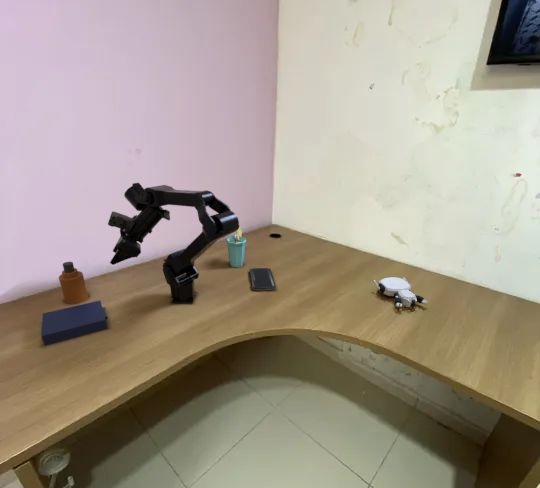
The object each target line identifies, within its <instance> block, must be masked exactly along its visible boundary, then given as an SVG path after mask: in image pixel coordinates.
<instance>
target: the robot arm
mask: <svg viewBox="0 0 540 488" xmlns="http://www.w3.org/2000/svg"><path fill="white" fill-rule="evenodd" d="M123 196H124V198H125V199H126V200H127V201H128V202H129V204H130V205H131V206H132V207H133V208H134V209H135V210H136V211H137V212H139V213H138V214H136V215H135V214H134V215H133V216H132V217H131V216H129V215H125V214H123V213H120V212H117V211H111V213H110V216H109V219H108V221H107V225H108V226H109V227H111V228H113V227H114V228H117V229H119V234H120V236H119V238H118V240H117V242H116V244H115V245H114V247H113V249H112V252H113V253H115V254H114V255H113V256H112V258H111V259H110V261H109V264H111V265H113V266H114V265H117V264H119V263H121V262H124V261H126V260H129V259H132V258H134V259H135V258H138V257H139V256H140V254H141V253H142V247H141V244H142V243H144V240H145V238H146V237H147V235H148V234H152V233H153V229H154V228H155V227H156V226H157V225H158V223H160V222H161V220H162V219H165V220H167V221H170V220H171V216H170V215H171V211H170V210H167V209H164V207H165V206H169V205H170V206H180V207H192V208H194V209H195V210H196V212H197V217H198V221H199V223H200V224H201V225H202V227H201V233H200V234H199V235H197V236H196V237H195V238H194V239H193V240H192V241H191V242H190V244H188V246H186V247H185V248H182V249H180V250H177V251H174V252H172V253H169V254H168V255H167V257H166V258H165V259H163V260H162V261H163V263H162V272H163V276H164V279H165V282H166V284H167V285H169V288H170V289H169V290H170V297H171V299H172V300H171V303H172V304H193V303H194V301H195V299H196V296H197V291H196V289H195V280H197V279H199V276H200V273H199V271H198V269H197V268H196V267H195V262H196V260H197V259H199V258H200V257H201V256H202V255H203V254H204V253H206V251H207V250H209V249H210V248H211V247H212V246H213V245H214V244H216V243H217V241H219V240H222V239H223V238H226V237H227V236H229V235H231V234H234V233H236V231H237V230H238V229H239V228H240V222H239V217H238V215H236V213H235V212H234V211H233V210H232V209H231V207H230V206H229V205H228V204H227V203H225V202H224V201H222V200H220V199H219V198H217V197H216V195H215V194H214V193H213V192H212V191H211V190H188V189H187V190H186V189H175V188H174V187H173V186H170V185H167V184H161V185H155V186H149V187H145V188H144V187H143V186H142V185H141V183H140V182H134V183H132V185H131V186H130V187H129V188H127V189H126V191H125V192H124V195H123ZM207 207H208V208H210V209H211V210H213V211H214V212H216V213H215V214H212V215H210V214H209V213H208V211H207Z"/></svg>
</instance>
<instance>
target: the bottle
mask: <svg viewBox="0 0 540 488" xmlns="http://www.w3.org/2000/svg"><path fill="white" fill-rule="evenodd" d="M62 267H63V270H62V271H61V274H60V275H59V276H58V280H59V284H60V287H61V291H62V295H63V298H64V301H65V303H67V304H71V305H72V304H78V303H81V302H84V301H86V300H87V299H88V298H89V294H88V290H87V286H86V281H85V278H84V273H83V271H79V270H78V268H75V265H74V262H73V261H66V262H63V263H62Z"/></svg>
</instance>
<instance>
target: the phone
mask: <svg viewBox="0 0 540 488" xmlns="http://www.w3.org/2000/svg"><path fill="white" fill-rule="evenodd" d="M249 275H250V280H251V287H252V290H253V291H255V292H256V291H257V292H258V291H260V292H261V291H262V292H263V291H275V290H276V283H275V280H274V277H273V273H272V270H271V268H270V267H255V268H254V267H253V268H250V269H249Z"/></svg>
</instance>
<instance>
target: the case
mask: <svg viewBox="0 0 540 488" xmlns="http://www.w3.org/2000/svg"><path fill="white" fill-rule="evenodd" d="M106 320H108V315H107V312H106V307H103V305H102V301H101V300H96V301H92V302H87V303H83V304H78V305H74V306H70V307H65V308H60V309H56V310H52V311H48V312H43V313H42V321H41V339H42V342H43V345H44V346H49V345H51V344H52V345H53V344H55V343H60V342H63V341H67V340H70V339H73V338H78V337H82V336H86V335H88V334H89V335H90V334H92V333H97V332H100V331H104V330H107V329H108V326H107V321H106Z"/></svg>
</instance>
